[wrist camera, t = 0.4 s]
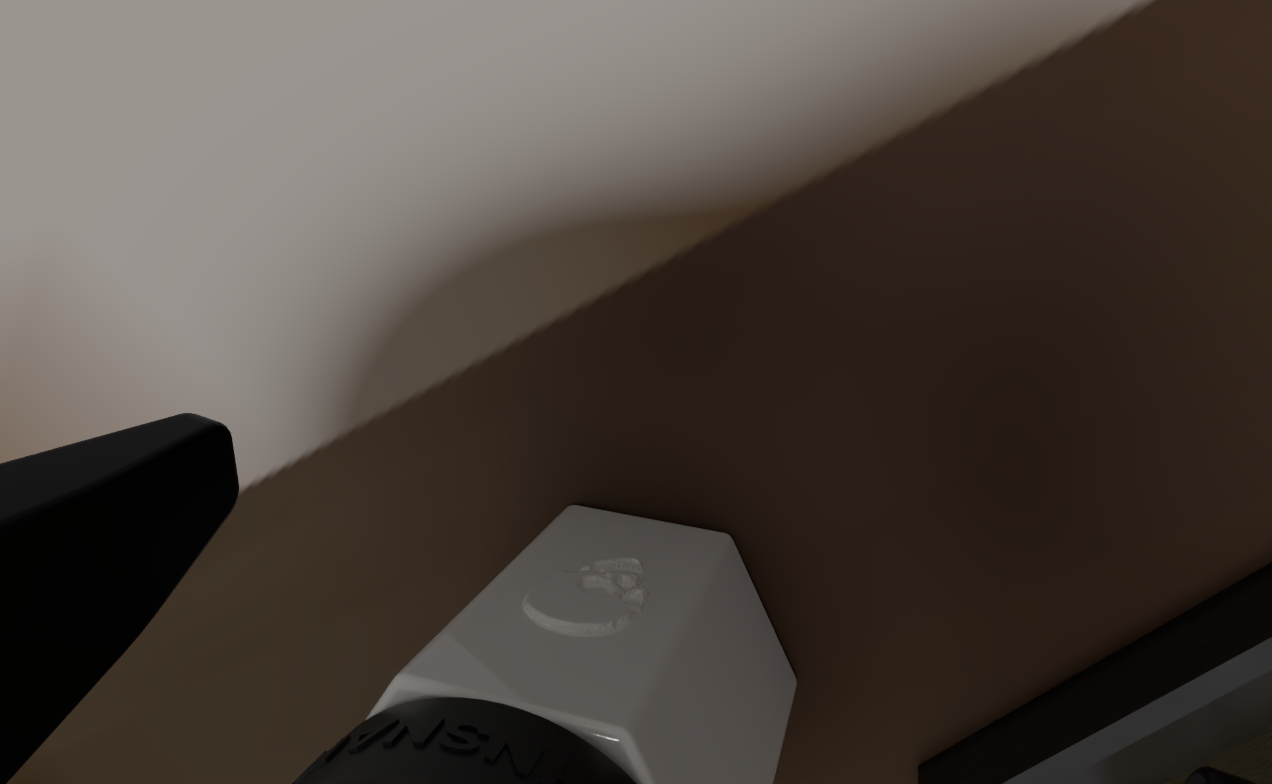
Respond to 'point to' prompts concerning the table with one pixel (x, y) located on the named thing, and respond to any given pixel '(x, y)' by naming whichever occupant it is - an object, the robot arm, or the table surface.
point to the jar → (588, 671)
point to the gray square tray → (1144, 708)
